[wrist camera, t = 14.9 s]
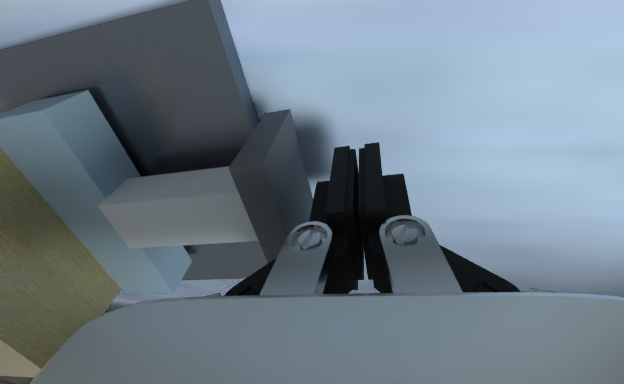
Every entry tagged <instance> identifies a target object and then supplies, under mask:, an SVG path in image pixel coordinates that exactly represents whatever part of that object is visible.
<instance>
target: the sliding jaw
mask: <svg viewBox="0 0 624 384" xmlns="http://www.w3.org/2000/svg"><path fill="white" fill-rule="evenodd" d="M0 148H1V149H2V150H3V151H4V153H5V154H6V155H7V156H8V157H9V158H10V160H11V161H12V162H13V163H14V164H15V165H16V167H17V168H18V169H19V170H20V171H21V172H22V174H23V175H24V176H25V177H26V178H27V179H28V181H29V182H30V183H31V184H32V185H33V186H34V188H35V189H36V190H37V191H38V192H39V193H40V195H41V196H42V197H43V198H44V199H45V200H46V202H47V203H48V204H49V205H50V206H51V207H52V209H53V210H54V211H55V212H56V213H57V214H58V216H59V217H60V218H61V219H62V220H63V221H64V223H65V224H66V225H67V226H68V227H69V229H70V230H71V231H72V232H73V233H74V234H75V236H76V237H77V238H78V239H79V240H80V241H81V243H82V244H83V245H84V246H85V247H86V248H87V250H88V251H89V252H90V253H91V254H92V255H93V257H94V258H95V259H96V260H97V261H98V262H99V264H100V265H101V266H102V267H103V268H104V269H105V271H106V272H107V273H108V274H109V275H110V276H111V278H112V279H113V280H114V281H115V282H116V283H117V285H118V286H119V287H120V288H121V289H122V290H123V292H124V293H125V294H158V293H174V292H175V290H176V288H177V287H178V285H179V283H180V281H181V280H182V278H183V276H184V275H185V273H186V271H187V269H188V268H189V266H190V264H191V262H192V260H191V258H190V257H189V255H188V253H187V252H186V250H185V248H184V247H183V245H199V244H216V243H232V242H249V241H259V243H260V246H261V248H262V250H263V253H264V255H265V258H266V260H267V262H268V263H269V262H271V261H272V260H274V259H275V258H277V257H278V255H279V253H280V251H281V248H282V246H283V244H284V242H285V240H286V238H287V236H288V234H289V233H290V231H291V230H293V229H294V228H295V227H296V226H298V225H300V224H302V223H306V222H309V218H310V213H311V209H312V204H313V198H312V194H311V190H310V186H309V182H308V178H307V174H306V170H305V166H304V162H303V158H302V154H301V150H300V147H299V143H298V139H297V135H296V131H295V127H294V123H293V119H292V115H291V111H290V110H283V111H277V112H271V113H265V114H264V116H263V117H262V119H261V120H260V122H259V123H258V125H257V126H256V128H255V129H254V131H253V132H252V134H251V135H250V137H249V138H248V140H247V141H246V143H245V144H244V146H243V147H242V149H241V150H240V152H239V153H238V155H237V156H236V158H235V159H234V161H233V162H232V164H231V165H230V166H228V167H220V168H211V169H203V170H195V171H186V172H178V173H170V174H161V175H153V176H145V177H141V176H140V174H139V173H138V171H137V169H136V168H135V166H134V165H133V163H132V161H131V160H130V158H129V156H128V155H127V153H126V151H125V150H124V148H123V146H122V145H121V143H120V142H119V140H118V138H117V137H116V135H115V133H114V132H113V130H112V128H111V127H110V125H109V123H108V122H107V120H106V119H105V117H104V115H103V114H102V112H101V110H100V109H99V107H98V105H97V104H96V102H95V100H94V99H93V97H92V96H91V94H90V92H89V91H88V90H86V91H81V92H76V93H71V94H66V95H61V96H56V97H51V98H46V99H41V100H37V101H32V102H29V103H26V104H24V105H21V106H19V107H16V108H14V109H12V110H9V111H7V112H4V113H2V114H0Z"/></svg>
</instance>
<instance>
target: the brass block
mask: <svg viewBox="0 0 624 384" xmlns="http://www.w3.org/2000/svg"><path fill="white" fill-rule="evenodd" d="M120 290H121V288H120V287H119V286H118V285H117V283H116V282H115V281H114V280H113V279H112V278H111V276H110V275H109V274H108V273H107V272H106V271H105V269H104V268H103V267H102V266H101V265H100V264H99V262H98V261H97V260H96V259H95V258H94V257H93V255H92V254H91V253H90V252H89V251H88V250H87V248H86V247H85V246H84V245H83V244H82V243H81V241H80V240H79V239H78V238H77V237H76V236H75V234H74V233H73V232H72V231H71V230H70V229H69V227H68V226H67V225H66V224H65V223H64V221H63V220H62V219H61V218H60V217H59V216H58V214H57V213H56V212H55V211H54V210H53V209H52V207H51V206H50V205H49V204H48V203H47V202H46V200H45V199H44V198H43V197H42V196H41V195H40V193H39V192H38V191H37V190H36V189H35V188H34V186H33V185H32V184H31V183H30V182H29V181H28V179H27V178H26V177H25V176H24V175H23V174H22V172H21V171H20V170H19V169H18V168H17V167H16V165H15V164H14V163H13V162H12V161H11V160H10V158H9V157H8V156H7V155H6V154H5V153H4V151H3V150H2V149H1V148H0V376H16V377H34V378H35V376H36V375H37V374H38V373H39V372H40V370H41V369H42V368H43V367H44V366H45V364H46V363H47V362H48V361H49V360H50V359H51V358H52V356H53V355H54V354H55V353H56V352H57V351H58V350H59V348H60V347H61V346H62V345H63V344H64V343H65V342H66V341H67V340H68V339H69V338H70V337H71V336H72V335H73V334H74V333H75V332H76V331H77V330H78V329H80V328H81V327H82V326H84V325H85V324H86V323H88V322H89V321H91V320H93V319H95V318H97V317H99V316H101V315H102V314H103V313H104V312H105V310H106V309H107V308H108V306H109V305H110V304H111V302H112V301H113V300H114V298H115V297H116V296H117V294H118V293H119V292H120Z"/></svg>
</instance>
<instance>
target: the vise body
mask: <svg viewBox="0 0 624 384" xmlns="http://www.w3.org/2000/svg"><path fill="white" fill-rule="evenodd" d="M86 90H88V91H89V92H90V94H91V96H92V97H93V99H94V100H95V102H96V104H97V105H98V107H99V109H100V110H101V112H102V114H103V115H104V117H105V119H106V120H107V122H108V123H109V125H110V127H111V128H112V130H113V132H114V133H115V135H116V137H117V138H118V140H119V142H120V143H121V145H122V146H123V148H124V150H125V151H126V153H127V155H128V156H129V158H130V160H131V161H132V163H133V165H134V166H135V168H136V169H137V171H138V173H139V174H140V176H141V177H145V176H153V175H161V174H170V173H178V172H186V171H195V170H203V169H211V168H220V167H228V166H230V165H231V164H232V162H233V161H234V159H235V158H236V156H237V155H238V153H239V152H240V150H241V149H242V147H243V146H244V144H245V143H246V141H247V140H248V138H249V137H250V135H251V134H252V132H253V131H254V129H255V128H256V126H257V125H258V123H259V120H258V117H257V114H256V111H255V108H254V104H253V101H252V98H251V95H250V92H249V89H248V86H247V83H246V79H245V76H244V73H243V70H242V67H241V64H240V61H239V58H238V54H237V51H236V48H235V45H234V42H233V39H232V36H231V33H230V29H229V26H228V23H227V20H226V17H225V14H224V11H223V8H222V4H221V1H220V0H192V1H188V2H184V3H180V4H176V5H172V6H169V7H165V8H161V9H157V10H153V11H149V12H145V13H142V14H138V15H134V16H130V17H126V18H122V19H118V20H115V21H111V22H107V23H103V24H99V25H95V26H92V27H88V28H84V29H80V30H76V31H72V32H68V33H65V34H61V35H57V36H53V37H49V38H45V39H41V40H38V41H34V42H30V43H26V44H22V45H18V46H15V47H11V48H7V49H3V50H0V114H2V113H4V112H7V111H9V110H12V109H14V108H16V107H19V106H21V105H24V104H26V103H29V102H32V101H37V100H41V99H46V98H51V97H56V96H61V95H66V94H71V93H76V92H81V91H86ZM183 247H184V248H185V250H186V252H187V253H188V255H189V257H190V258H191V260H192V262H191V264H190V266H189V268H188V269H187V271H186V273H185V275H184V276H183V278H182V280H206V279H238V278H247V277H249V276H250V275H252V274H253V273H255V272H256V271H257V270H259V269H260V268H262V267H263V266H265V265H266V264H268V262H267V260H266V258H265V255H264V253H263V250H262V248H261V246H260V243H259V241H249V242H232V243H216V244H199V245H183Z"/></svg>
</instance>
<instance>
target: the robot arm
mask: <svg viewBox="0 0 624 384" xmlns="http://www.w3.org/2000/svg"><path fill="white" fill-rule="evenodd" d="M364 254H365V260H366V267H367V274H368V279H369V280H372V279H373V282H374V288H375V289H377V290H378V291H379V292H381V293H367V294H348V293H349V292H350V291H351V290H358V280H364ZM30 384H624V297H619V296H609V295H598V294H584V293H561V292H554V291H547V290H541V289H534V288H530V290H529V292H525V291H519V290H518V288H517V287H515V286H514V285H513V284H511V283H510V282H508V281H506V280H505V279H503V278H501V277H499V276H497V275H495V274H493V273H491V272H489V271H488V270H486V269H484V268H482V267H480V266H478V265H476V264H474V263H473V262H471V261H469V260H467V259H465V258H463V257H461V256H459V255H458V254H456V253H454V252H452V251H450V250H448V249H446V248H444V247H442V246H441V245H439V244H438V242H437V240H436V238H435V236H434V234H433V232H432V230H431V228H430V226H429V225H428V224H427V223H426V222H425V221H423V220H422V219H420V218H417V217H415V216H412V214H411V209H410V204H409V199H408V194H407V189H406V184H405V179H404V175H403V174H396V175H386V176H382V168H381V158H380V147H379V143H370V144H365V148H360V149H359V173H358V166H357V158H356V151H355V149H351V150H350V147H349V146H345V147H337V148H335V150H334V156H333V163H332V170H331V176H330V181H323V182H317V185H316V189H315V194H314V199H313V204H312V209H311V213H310V218H309V222H306V223H302V224H300V225H298V226H296V227H295V228H294V229H293V230H291V231H290V233H289V234H288V236H287V238H286V240H285V242H284V244H283V246H282V248H281V251H280V253H279V255H278V257H277V258H275V259H274V260H272V261H271V262H269V263H268V264H266V265H265V266H263V267H262V268H260V269H259V270H257V271H256V272H255V273H253V274H252V275H250V276H249V277H247V278H246V279H244V280H243V281H241V282H240V283H238V284H237V285H235V286H234V287H233V288H231V289H230V290H229V291H228V292H227V293H226V294H225V296H221V294H220V293H218V294H214V295H209V296H205V297H186V298H170V299H159V300H152V301H145V302H140V303H136V304H132V305H128V306H124V307H122V308H119V309H116V310H113V311H110V312H108V313H105V314H103V315H101V316H99V317H97V318H95V319H93V320H91V321H89V322H88V323H86V324H85V325H84V326H82V327H81V328H80V329H78V330H77V331H76V332H75V333H74V334H73V335H72V336H71V337H70V338H69V339H68V340H67V341H66V342H65V343H64V344H63V345H62V346H61V347H60V348H59V350H58V351H57V352H56V353H55V354H54V355H53V356H52V358H51V359H50V360H49V361H48V362H47V363H46V364H45V366H44V367H43V368H42V369H41V370H40V372H39V373H38V374H37V375H36V376H35V378H34V379H33V380H32V381H31V382H30Z"/></svg>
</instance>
